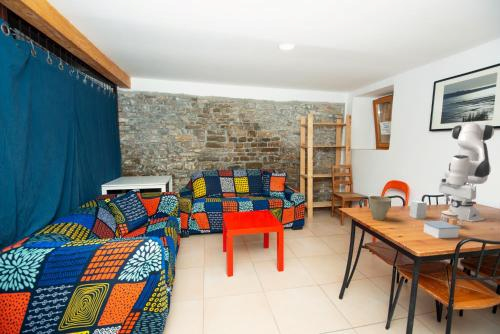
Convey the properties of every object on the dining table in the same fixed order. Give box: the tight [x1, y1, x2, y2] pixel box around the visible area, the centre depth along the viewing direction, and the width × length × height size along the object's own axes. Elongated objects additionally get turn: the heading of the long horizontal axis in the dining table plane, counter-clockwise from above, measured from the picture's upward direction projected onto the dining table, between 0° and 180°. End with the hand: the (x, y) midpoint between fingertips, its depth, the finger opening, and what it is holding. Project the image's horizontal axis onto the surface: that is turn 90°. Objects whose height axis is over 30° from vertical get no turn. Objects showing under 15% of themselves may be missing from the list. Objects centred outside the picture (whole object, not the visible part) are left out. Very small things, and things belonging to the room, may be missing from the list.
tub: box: [423, 223, 460, 239], centre depth 144 cm, size 14×10×6 cm
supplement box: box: [409, 200, 428, 220], centre depth 176 cm, size 7×7×13 cm
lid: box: [423, 219, 461, 229], centre depth 143 cm, size 17×11×5 cm, turn 97°
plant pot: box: [368, 195, 392, 221], centre depth 171 cm, size 15×15×16 cm
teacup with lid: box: [439, 208, 463, 226], centre depth 158 cm, size 12×9×12 cm
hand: (455, 202), depth 143 cm, fingers open, 8 cm apart
